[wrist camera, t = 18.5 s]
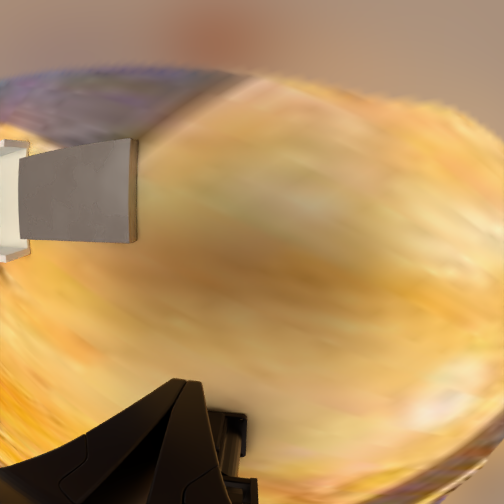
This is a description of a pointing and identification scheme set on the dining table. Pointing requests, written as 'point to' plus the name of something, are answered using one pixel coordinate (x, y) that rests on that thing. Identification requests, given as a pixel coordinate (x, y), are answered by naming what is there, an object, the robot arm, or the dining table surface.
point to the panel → (80, 193)
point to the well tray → (11, 200)
